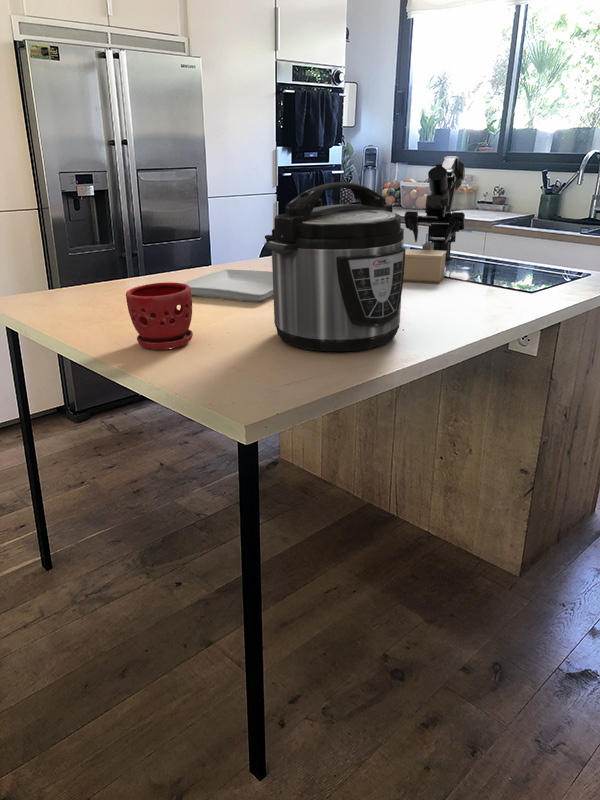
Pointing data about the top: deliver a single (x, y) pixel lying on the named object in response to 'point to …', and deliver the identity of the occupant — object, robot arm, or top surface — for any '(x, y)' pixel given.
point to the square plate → (234, 285)
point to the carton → (424, 270)
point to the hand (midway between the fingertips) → (430, 241)
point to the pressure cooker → (337, 271)
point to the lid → (425, 252)
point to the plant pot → (161, 314)
